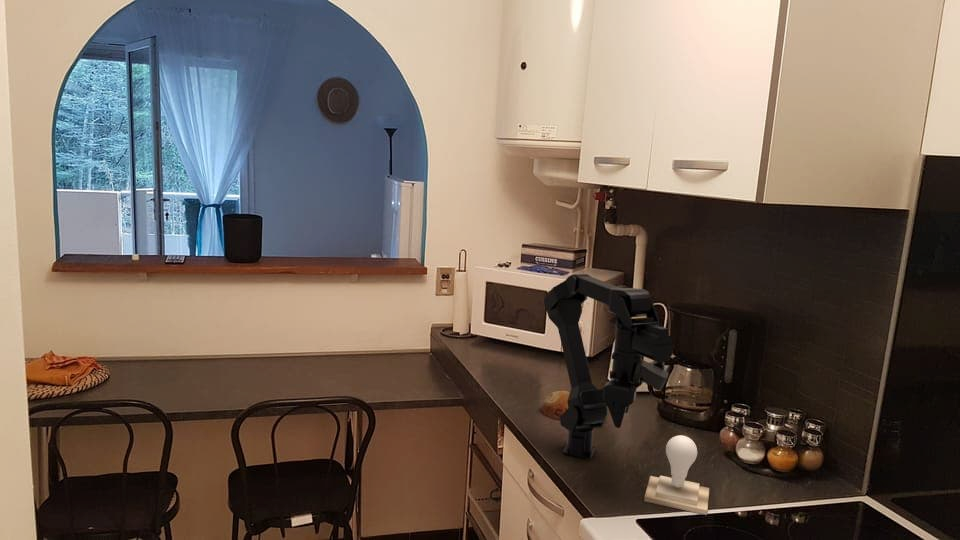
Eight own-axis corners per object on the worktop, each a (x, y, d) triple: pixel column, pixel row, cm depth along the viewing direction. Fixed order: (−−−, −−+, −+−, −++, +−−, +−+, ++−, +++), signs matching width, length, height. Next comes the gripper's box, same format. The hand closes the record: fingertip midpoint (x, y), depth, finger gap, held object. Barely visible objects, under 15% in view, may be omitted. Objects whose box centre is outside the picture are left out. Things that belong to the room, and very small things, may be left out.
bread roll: (572, 421, 185) (568, 391, 187) (589, 418, 176) (585, 387, 178) (538, 423, 182) (535, 393, 184) (554, 421, 173) (551, 389, 175)
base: (650, 480, 145) (650, 471, 144) (708, 492, 141) (709, 483, 140) (644, 501, 135) (645, 491, 135) (706, 515, 131) (707, 505, 131)
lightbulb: (687, 480, 141) (692, 431, 139) (697, 495, 135) (703, 443, 133) (658, 479, 141) (663, 429, 139) (667, 494, 135) (672, 442, 133)
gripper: (663, 366, 129) (655, 443, 132) (671, 343, 146) (664, 412, 149) (605, 357, 133) (598, 432, 135) (620, 336, 150) (614, 403, 153)
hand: (621, 419), depth 143 cm, fingers open, 9 cm apart
